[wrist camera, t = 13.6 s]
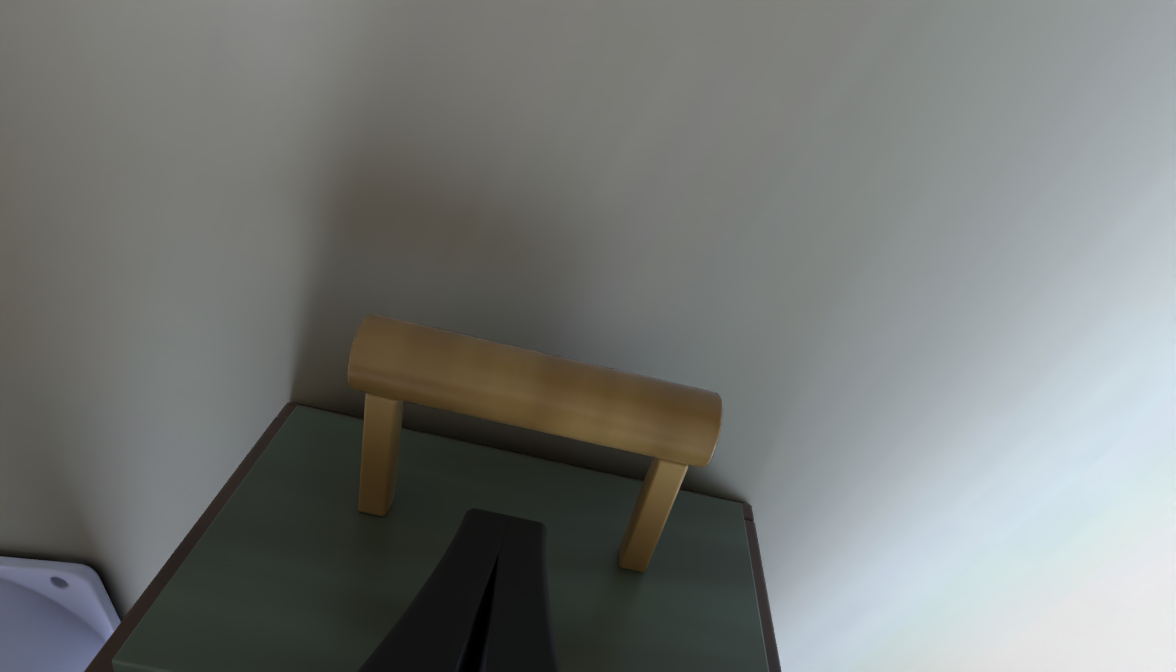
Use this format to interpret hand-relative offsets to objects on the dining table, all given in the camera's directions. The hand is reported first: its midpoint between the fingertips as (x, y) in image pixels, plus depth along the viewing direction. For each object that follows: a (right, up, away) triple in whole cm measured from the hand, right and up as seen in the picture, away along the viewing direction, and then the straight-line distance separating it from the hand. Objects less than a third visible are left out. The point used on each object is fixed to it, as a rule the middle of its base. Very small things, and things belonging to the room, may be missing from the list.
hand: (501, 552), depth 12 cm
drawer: (-1, -2, +7) cm, 7 cm away
